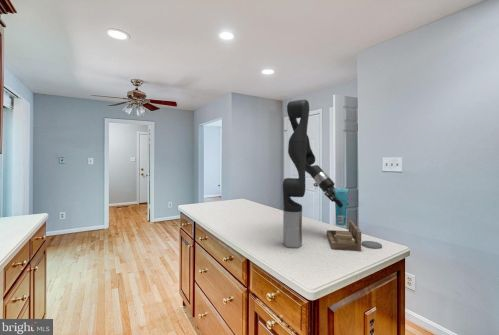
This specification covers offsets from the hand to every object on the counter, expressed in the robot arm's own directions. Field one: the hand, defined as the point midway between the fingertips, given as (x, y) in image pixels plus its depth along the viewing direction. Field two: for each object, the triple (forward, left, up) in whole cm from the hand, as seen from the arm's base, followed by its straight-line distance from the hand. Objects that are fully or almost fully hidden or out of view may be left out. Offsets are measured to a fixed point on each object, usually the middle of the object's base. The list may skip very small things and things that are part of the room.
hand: (344, 205), depth 131 cm
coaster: (-6, -12, -18) cm, 23 cm away
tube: (+1, +2, -10) cm, 11 cm away
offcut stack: (-9, +1, -18) cm, 20 cm away
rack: (-4, +1, -18) cm, 19 cm away
